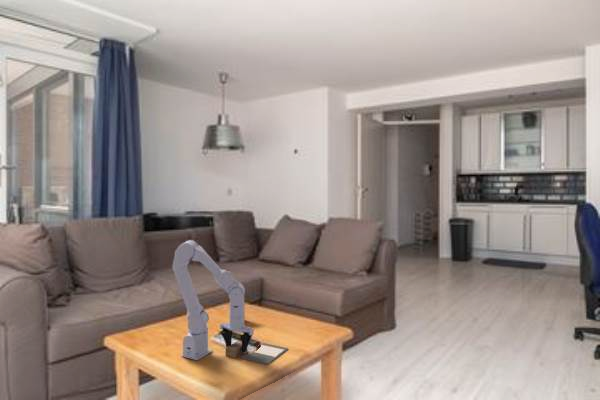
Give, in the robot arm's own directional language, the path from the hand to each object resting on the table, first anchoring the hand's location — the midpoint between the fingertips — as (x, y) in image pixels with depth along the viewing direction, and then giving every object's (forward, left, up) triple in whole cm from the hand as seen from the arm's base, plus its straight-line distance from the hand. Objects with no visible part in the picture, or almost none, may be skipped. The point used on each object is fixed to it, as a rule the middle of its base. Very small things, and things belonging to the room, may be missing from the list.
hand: (236, 349), depth 159 cm
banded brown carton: (0, 0, -2) cm, 2 cm away
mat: (+5, -10, -1) cm, 11 cm away
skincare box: (+31, +21, -2) cm, 37 cm away
